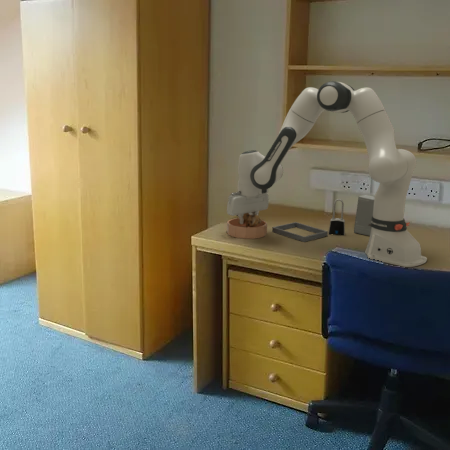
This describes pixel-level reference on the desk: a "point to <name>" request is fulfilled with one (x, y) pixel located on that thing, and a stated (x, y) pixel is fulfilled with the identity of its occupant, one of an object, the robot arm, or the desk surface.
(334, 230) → the padlock
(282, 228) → the tray
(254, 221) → the lion figurine
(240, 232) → the bowl
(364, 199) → the skincare box
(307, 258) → the desk surface
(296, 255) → the desk surface
